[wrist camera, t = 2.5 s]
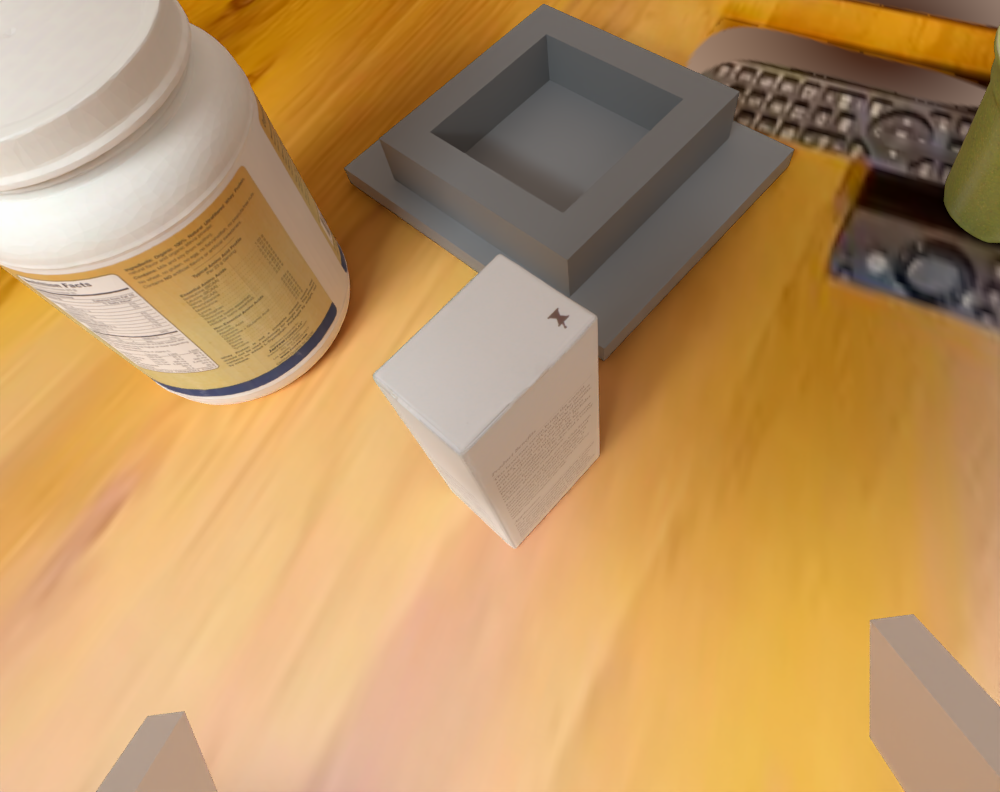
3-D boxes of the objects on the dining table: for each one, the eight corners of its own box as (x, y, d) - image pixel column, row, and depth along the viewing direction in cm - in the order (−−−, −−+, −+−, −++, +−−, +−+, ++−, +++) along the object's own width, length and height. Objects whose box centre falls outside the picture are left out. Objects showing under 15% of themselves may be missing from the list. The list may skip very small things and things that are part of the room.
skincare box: (534, 403, 32) (502, 245, 21) (602, 456, 30) (605, 314, 19) (447, 493, 30) (365, 373, 19) (513, 555, 28) (464, 459, 18)
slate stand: (350, 182, 40) (325, 127, 36) (524, 38, 44) (517, -25, 40) (603, 361, 32) (604, 314, 28) (788, 166, 36) (810, 102, 32)
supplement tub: (182, 235, 40) (-70, -57, 25) (371, 224, 38) (224, -97, 23) (123, 416, 34) (-245, 184, 19) (340, 412, 33) (121, 155, 18)
